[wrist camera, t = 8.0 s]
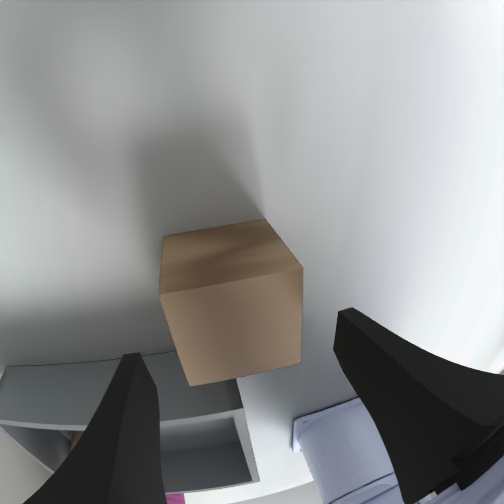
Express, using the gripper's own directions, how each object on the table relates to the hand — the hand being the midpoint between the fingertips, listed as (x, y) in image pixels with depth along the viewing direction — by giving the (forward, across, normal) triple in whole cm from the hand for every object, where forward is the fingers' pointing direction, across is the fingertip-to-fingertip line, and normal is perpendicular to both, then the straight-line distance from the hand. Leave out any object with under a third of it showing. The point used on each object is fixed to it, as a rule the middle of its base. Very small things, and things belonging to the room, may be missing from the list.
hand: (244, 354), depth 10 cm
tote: (+6, +9, +12) cm, 16 cm away
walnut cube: (+6, 0, 0) cm, 6 cm away
